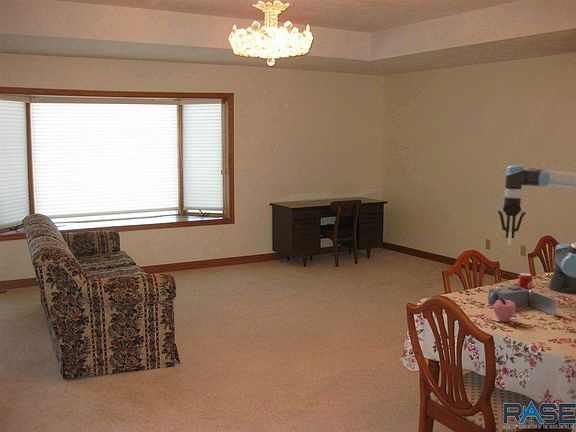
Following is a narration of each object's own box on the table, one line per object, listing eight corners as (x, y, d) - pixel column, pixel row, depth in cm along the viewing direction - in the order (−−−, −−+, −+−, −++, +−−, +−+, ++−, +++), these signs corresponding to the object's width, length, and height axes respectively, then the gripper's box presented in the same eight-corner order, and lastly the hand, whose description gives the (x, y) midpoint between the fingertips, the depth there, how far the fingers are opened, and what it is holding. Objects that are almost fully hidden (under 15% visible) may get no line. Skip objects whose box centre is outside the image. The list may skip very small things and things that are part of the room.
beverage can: (531, 300, 293) (533, 276, 291) (517, 299, 294) (519, 275, 292) (529, 297, 299) (531, 273, 297) (515, 296, 300) (517, 272, 298)
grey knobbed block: (514, 299, 294) (516, 283, 293) (528, 305, 286) (530, 288, 284) (484, 303, 287) (485, 287, 285) (498, 309, 278) (499, 292, 277)
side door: (527, 304, 285) (528, 290, 284) (531, 304, 285) (532, 289, 284) (553, 315, 269) (555, 300, 268) (557, 315, 270) (558, 299, 269)
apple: (511, 325, 256) (513, 302, 254) (490, 321, 260) (491, 298, 259) (516, 319, 264) (518, 297, 262) (495, 315, 268) (497, 293, 267)
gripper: (498, 197, 301) (494, 244, 305) (526, 198, 296) (523, 247, 299) (499, 195, 308) (496, 242, 311) (527, 197, 303) (523, 244, 306)
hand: (509, 244), depth 305 cm, fingers closed
